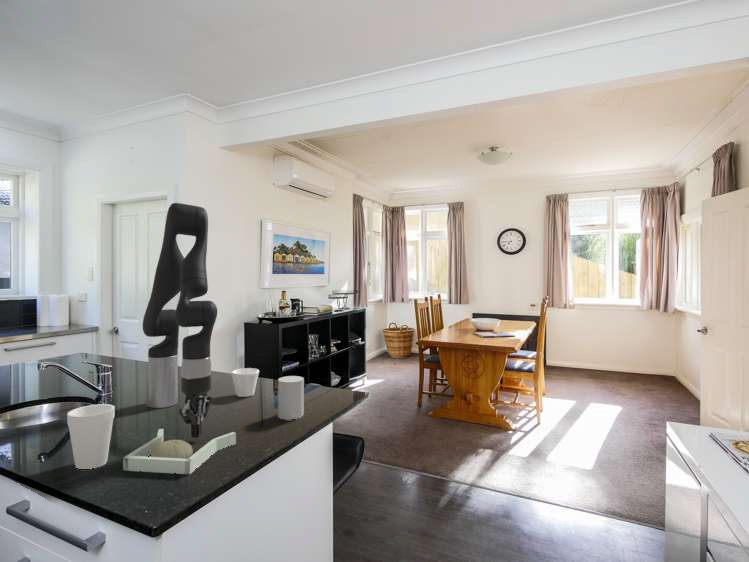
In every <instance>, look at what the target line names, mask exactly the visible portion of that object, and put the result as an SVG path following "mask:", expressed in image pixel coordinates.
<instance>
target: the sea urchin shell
mask: <svg viewBox="0 0 749 562" xmlns="http://www.w3.org/2000/svg"><path fill="white" fill-rule="evenodd" d="M193 452H194V451H193V446H192V445H191V444H190V443H188V442H187V441H184V440H181V439H169V440H165V441H163V442H162V443H160V444H158V445H157V446H156V447H155V448H154V449H153V451H152V453H151V456H149V457H164V458H182V459H188V458H190V457H191V456H192V455H193V454H194V453H193Z"/></svg>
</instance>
